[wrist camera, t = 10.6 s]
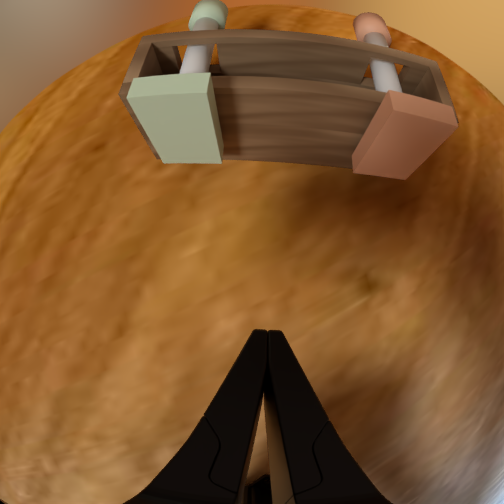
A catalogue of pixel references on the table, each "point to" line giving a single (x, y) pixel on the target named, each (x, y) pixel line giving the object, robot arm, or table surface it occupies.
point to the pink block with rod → (397, 116)
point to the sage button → (184, 99)
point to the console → (288, 90)
